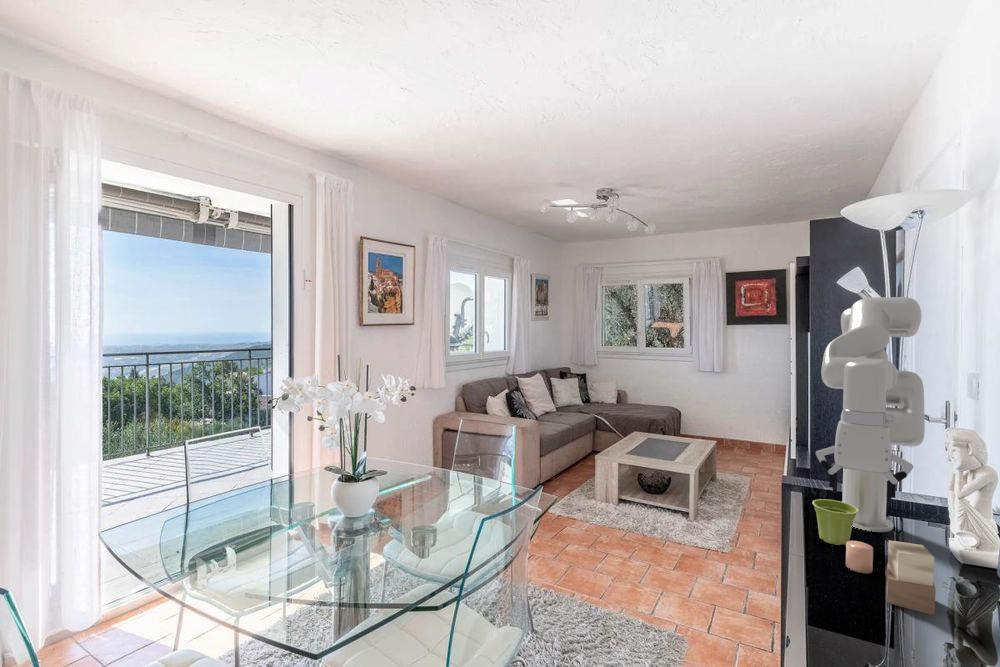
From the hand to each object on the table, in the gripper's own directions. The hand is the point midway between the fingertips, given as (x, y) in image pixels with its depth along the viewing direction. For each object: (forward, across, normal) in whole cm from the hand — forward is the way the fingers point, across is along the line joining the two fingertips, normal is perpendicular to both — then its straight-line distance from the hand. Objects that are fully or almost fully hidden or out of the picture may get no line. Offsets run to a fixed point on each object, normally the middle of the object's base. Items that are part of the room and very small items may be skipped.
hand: (861, 495), depth 111 cm
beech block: (+11, -8, +10) cm, 17 cm away
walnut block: (+16, -8, +10) cm, 21 cm away
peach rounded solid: (+16, 0, 0) cm, 16 cm away
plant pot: (+16, +5, -13) cm, 22 cm away
